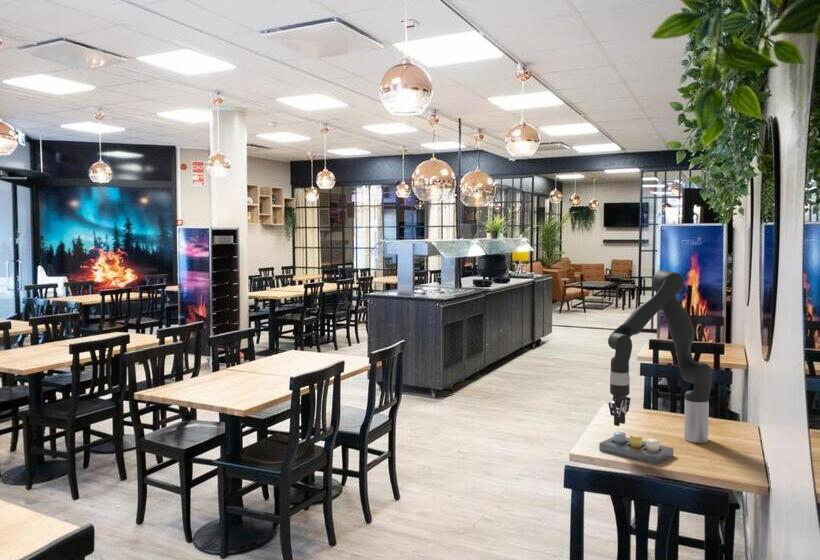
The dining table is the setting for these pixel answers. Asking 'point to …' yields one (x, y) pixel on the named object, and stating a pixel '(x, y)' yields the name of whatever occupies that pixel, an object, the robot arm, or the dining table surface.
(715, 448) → the dining table surface
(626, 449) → the panel
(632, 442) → the button mustard
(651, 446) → the button ivory
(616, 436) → the button blue
